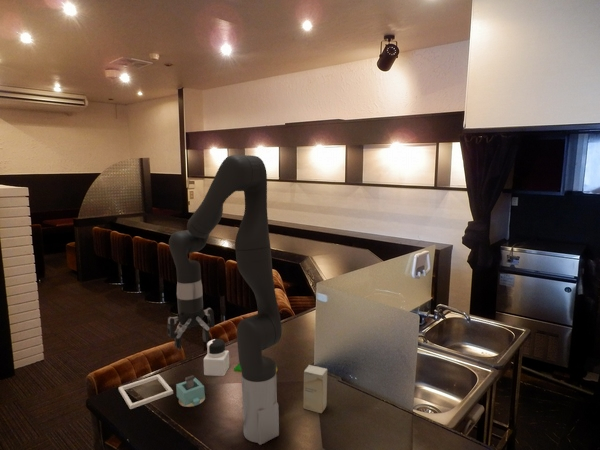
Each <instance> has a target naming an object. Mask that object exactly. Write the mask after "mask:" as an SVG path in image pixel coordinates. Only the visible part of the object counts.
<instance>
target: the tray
mask: <svg viewBox="0 0 600 450" xmlns="http://www.w3.org/2000/svg"><path fill="white" fill-rule="evenodd" d="M155 380H156V381H158V382H159V384H161V386H162V387H163V389H165V391H163V392H160V393H157V394H154V395H153V396H149V397H145V398H144V399H141V400H138V401H135V402H132V400H131V399H130V397H129V396H128V395H129V394H127V392H126V391H125V390H130V389H132V388H135V387H138V386H141V385H144V384H147V383H150V382H153V381H155ZM118 392H119V393H120V395H121V396H122V398H123V399H124V401H125V403H126V405H127V407H128V408H129V409H130V410H132V409H136V408H137V407H141V406H143V405H146V404H149V403H151V402H154V401H157V400H159V399H162V398H165V397H168V396H171V395H174V390H173V389H172V387H171V386H169V384H168V383H167V381H166V380H165V379H164V378H163V377H162V376H161V375H160V374H156V375H152V376H149V377H146V378H142V379H139V380H137V381H134V382H131V383H127V384H124V385H121V386H118Z"/></svg>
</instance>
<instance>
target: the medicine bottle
mask: <svg viewBox="0 0 600 450" xmlns="http://www.w3.org/2000/svg"><path fill="white" fill-rule="evenodd" d="M225 345H226V341H224V340H223V339H222V338H221V339H220V338H214V339H211V340H209V341H208V342H206V348H207V351H206V352H207V354H205V356H204V358H203V359H202V360H203V375H204V376H212V377H213V376H215V377H218V376H219V377H224V376H225V375H226V373H227V372H228V370H229V368H230V351H229V350H226V346H225Z"/></svg>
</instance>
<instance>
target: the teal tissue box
mask: <svg viewBox="0 0 600 450" xmlns="http://www.w3.org/2000/svg"><path fill="white" fill-rule="evenodd" d="M175 388H176V398H177V399H178V401H179V400H180V401H181V402H182V403H183V404H184V405H185V406H184V407H186V405H189V404H191V403H193V405H194V406H193V407H195V405H196V406H198V405H200V404H201V403H200V400H201V399H204V398H205V399H206V395H205V385H204V384H203V383H202V382H201V381H200V380H199V379H197V378H196V377H194V388H192V389H189V390H187V387H186V380H185V381H182V382H179V383H176V384H175Z"/></svg>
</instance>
